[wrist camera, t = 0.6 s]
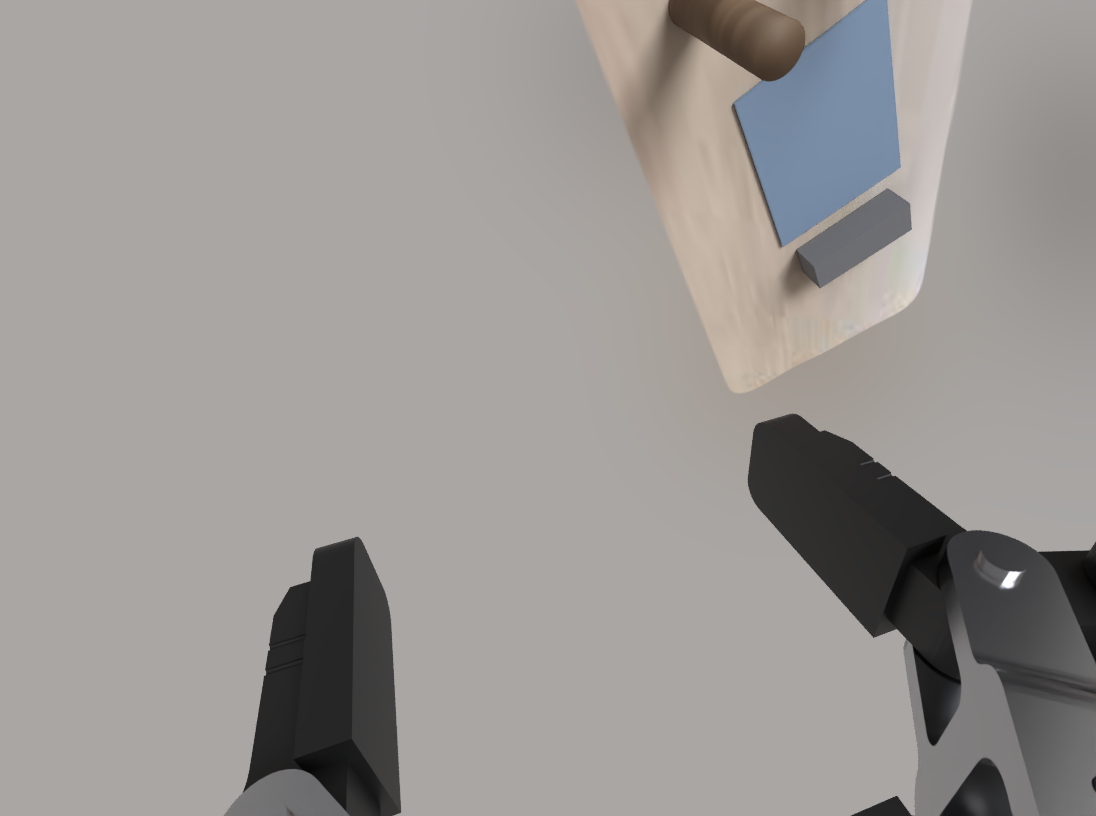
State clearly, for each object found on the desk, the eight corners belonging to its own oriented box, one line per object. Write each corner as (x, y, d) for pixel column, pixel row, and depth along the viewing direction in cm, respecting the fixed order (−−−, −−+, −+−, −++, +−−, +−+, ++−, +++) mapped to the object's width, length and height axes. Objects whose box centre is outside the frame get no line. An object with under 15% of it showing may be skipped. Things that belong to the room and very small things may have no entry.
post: (662, -5, 29) (748, 45, 24) (701, -38, 29) (799, 5, 23) (678, 37, 31) (761, 93, 25) (715, 6, 30) (809, 56, 25)
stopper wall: (796, 249, 46) (813, 266, 44) (888, 188, 44) (909, 203, 42) (803, 271, 48) (820, 288, 46) (890, 214, 46) (911, 229, 44)
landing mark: (733, 103, 35) (734, 104, 35) (883, -14, 32) (885, -13, 32) (781, 245, 45) (782, 246, 45) (898, 166, 42) (900, 167, 42)
